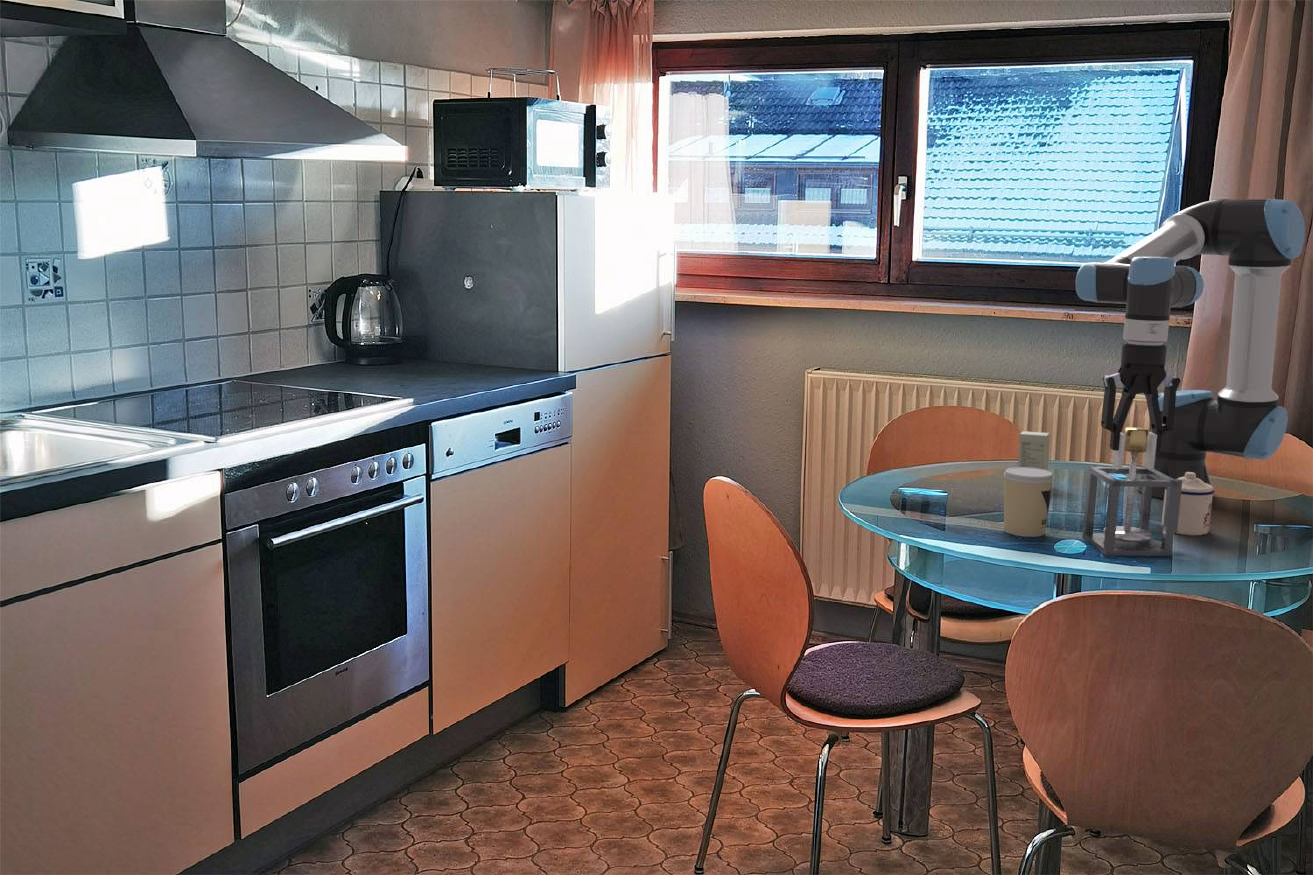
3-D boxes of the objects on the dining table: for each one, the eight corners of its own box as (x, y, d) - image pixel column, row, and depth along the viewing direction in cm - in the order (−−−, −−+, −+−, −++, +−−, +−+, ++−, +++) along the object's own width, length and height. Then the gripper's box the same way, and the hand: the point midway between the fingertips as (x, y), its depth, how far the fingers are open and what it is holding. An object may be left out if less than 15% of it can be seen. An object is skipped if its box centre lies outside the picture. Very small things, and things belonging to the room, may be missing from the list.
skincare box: (1047, 485, 274) (1051, 432, 272) (1044, 488, 270) (1048, 435, 268) (1018, 481, 277) (1022, 430, 274) (1015, 485, 273) (1019, 433, 271)
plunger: (1140, 530, 228) (1150, 425, 224) (1158, 542, 220) (1169, 433, 216) (1096, 529, 228) (1105, 424, 224) (1112, 541, 220) (1122, 433, 216)
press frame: (1160, 538, 230) (1167, 467, 228) (1188, 556, 219) (1195, 482, 216) (1082, 537, 230) (1088, 466, 228) (1105, 555, 219) (1112, 480, 216)
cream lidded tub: (1052, 539, 229) (1056, 478, 226) (1001, 536, 231) (1005, 475, 228) (1046, 527, 238) (1051, 468, 235) (997, 523, 240) (1002, 465, 237)
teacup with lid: (1214, 537, 232) (1221, 479, 229) (1164, 534, 234) (1170, 476, 231) (1200, 522, 243) (1206, 466, 241) (1153, 519, 245) (1158, 463, 243)
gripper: (1102, 344, 213) (1091, 471, 218) (1204, 345, 214) (1190, 472, 218) (1087, 339, 221) (1077, 462, 225) (1185, 340, 221) (1173, 463, 225)
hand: (1133, 467), depth 222 cm, fingers open, 5 cm apart
